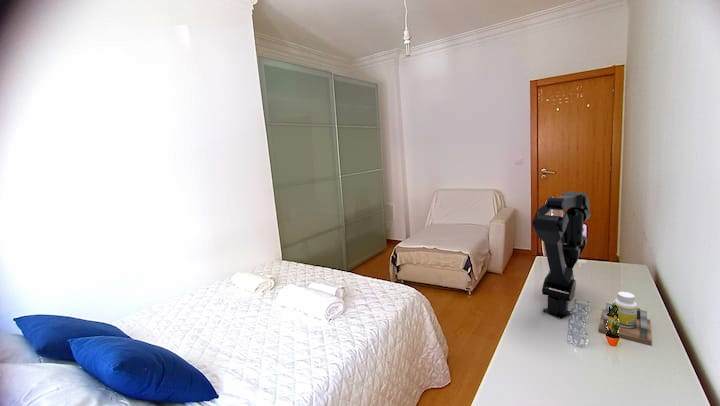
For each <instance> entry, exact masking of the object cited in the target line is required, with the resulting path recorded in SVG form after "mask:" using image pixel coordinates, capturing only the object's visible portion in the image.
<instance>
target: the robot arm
mask: <svg viewBox="0 0 720 406" xmlns="http://www.w3.org/2000/svg"><path fill="white" fill-rule="evenodd" d="M590 203H591V202H590V199H589V196H588V195H587V193H586V192H584V191H583V192H582V191H564V192H563V193H562V194H561V195H560V196H550V197H547V199H546V201H545V203H544V204H543V205H542V206H541V207H539V208H538V209H537V210H536V212H535V213H534V214H535V215H534V216H533V219H532V224H531V225H532V229H533V230H534V233H535V235H536V237H537V238H539V239H540V240H541V241H542V242H543V245H544V251H545V254H546V259H547V264H548V269H549V270H548V273H547V274H546V276H545V278H544V279H543V284H542V288H541V293H542V295H543V296H544V295H545V296H547V305H546V306H547V307H545V308H544V309H542V311H543V312H544V313H546V314H548V315H551V316H553V317H555V318H558V319H560V320H561V319H565V318H566V317H568V316H571V315H572V314H571V313H570V312H572V311H571V310H569V303H571V301H573V299H574V298H575V294H576V288H577V287H576V286H577V280H575V275H574V270H573V269H574V267H575V265H576V264H577V263H578V260H579V258H580V256H582V253H583V251H584V250H585V248H586V246H587V243H588V238H587V237H586V236H585V235H583V233H584V231H585V228H584V223H585V222H587V220H588V219H590V217H591V215H592V213H591V210H590V209H591V204H590ZM551 210H552V211H561V212H562V213H563V216H559V215H551V214H550V215H549V214H548V213H549V212H550V211H551ZM570 314H571V315H570Z"/></svg>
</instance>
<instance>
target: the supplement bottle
mask: <svg viewBox="0 0 720 406" xmlns="http://www.w3.org/2000/svg"><path fill="white" fill-rule="evenodd" d="M635 299H636V297H635V295H634V294H633V293H631V292H627V291H619V292H617V298H615V300H614V303H615V304H614V306H615V305H616V306H617V307H618V311H617V313H618V319H619V321H620V326H621V327H625V328H634V327H636V320H637V308H638V304H637V302H636V301H635Z"/></svg>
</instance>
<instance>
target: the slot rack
mask: <svg viewBox="0 0 720 406" xmlns="http://www.w3.org/2000/svg"><path fill="white" fill-rule="evenodd" d="M614 304H615V302H612V303H608V302H607V303H606V304H605V309H602V310H601V316H600V321H599V324H598V325H599V326H598V333H602V334H605V333H606V327H607V325H606V323H607V319H608V316H607V314H608V313H609V307H610V308H612V307H613V306H614ZM651 326H652V324H651V319H649V318H648V311H647V310H642V309H641V308H638V307H637V320H636V327H634V328H625V327H621V326H620V329H619V336H620V337H619V338H621V339H624V340H629V341H632V342H637V343H640V344H645V345H649V346H652V339H653V338H652V329H651V328H652V327H651ZM605 335H606V334H605Z"/></svg>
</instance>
